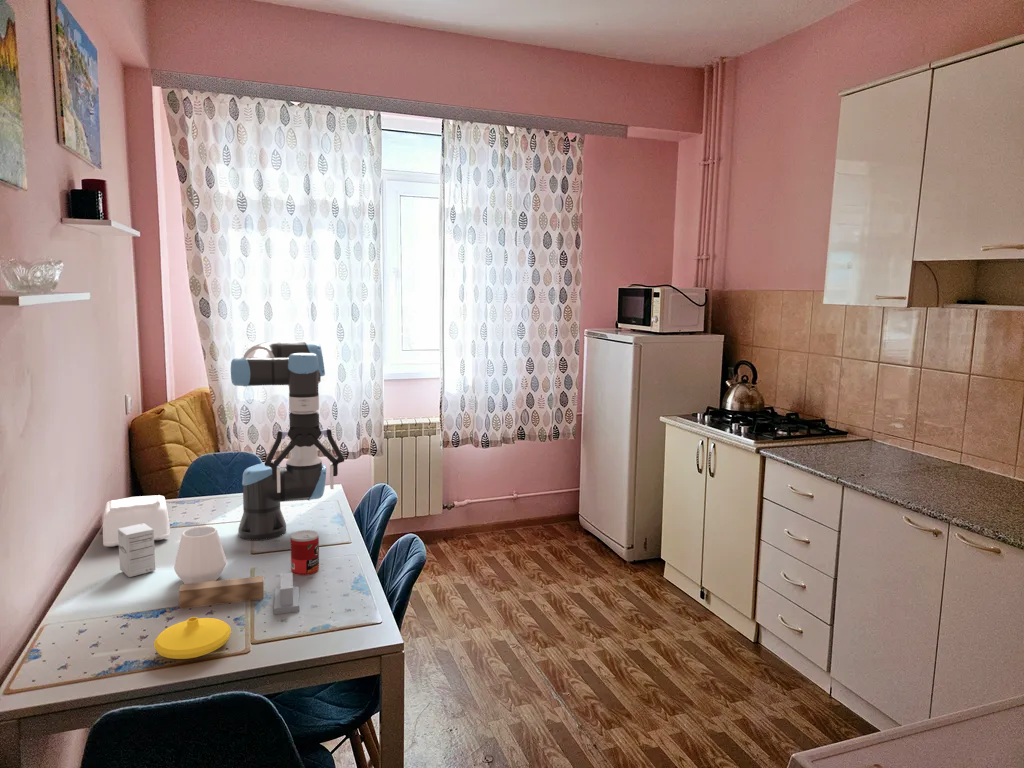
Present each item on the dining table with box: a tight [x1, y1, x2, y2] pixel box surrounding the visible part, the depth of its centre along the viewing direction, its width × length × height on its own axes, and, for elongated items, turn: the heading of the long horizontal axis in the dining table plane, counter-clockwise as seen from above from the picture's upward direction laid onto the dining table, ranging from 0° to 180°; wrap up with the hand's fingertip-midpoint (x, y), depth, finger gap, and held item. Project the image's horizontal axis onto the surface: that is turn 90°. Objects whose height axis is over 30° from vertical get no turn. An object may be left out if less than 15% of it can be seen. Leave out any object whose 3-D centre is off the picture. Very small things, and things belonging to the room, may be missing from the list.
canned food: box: [290, 530, 320, 576], centre depth 193 cm, size 8×8×11 cm
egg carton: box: [102, 494, 171, 548], centre depth 222 cm, size 19×30×13 cm, turn 30°
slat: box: [178, 575, 265, 609], centre depth 173 cm, size 20×4×5 cm, turn 109°
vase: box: [153, 616, 232, 660], centre depth 149 cm, size 16×16×7 cm
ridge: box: [273, 572, 300, 615], centre depth 173 cm, size 12×6×6 cm, turn 18°
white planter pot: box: [173, 525, 228, 584], centre depth 186 cm, size 13×13×14 cm
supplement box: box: [118, 523, 156, 578], centre depth 190 cm, size 7×7×13 cm
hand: (305, 489), depth 178 cm, fingers open, 13 cm apart
